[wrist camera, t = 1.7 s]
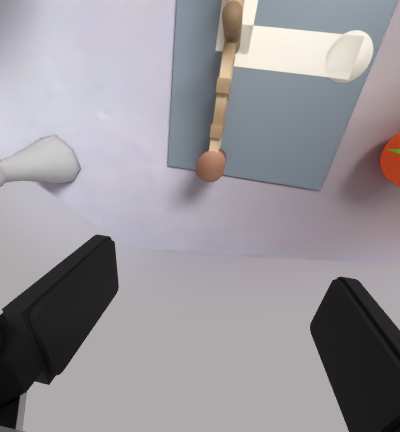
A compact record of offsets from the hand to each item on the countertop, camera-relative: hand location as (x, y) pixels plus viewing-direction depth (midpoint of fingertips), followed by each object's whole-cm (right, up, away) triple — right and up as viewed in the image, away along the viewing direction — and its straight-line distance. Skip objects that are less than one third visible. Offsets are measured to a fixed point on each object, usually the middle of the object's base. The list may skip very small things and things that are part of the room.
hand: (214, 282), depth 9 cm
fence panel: (+2, +15, +16) cm, 22 cm away
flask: (-23, +12, +22) cm, 34 cm away
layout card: (+7, +21, +13) cm, 25 cm away
